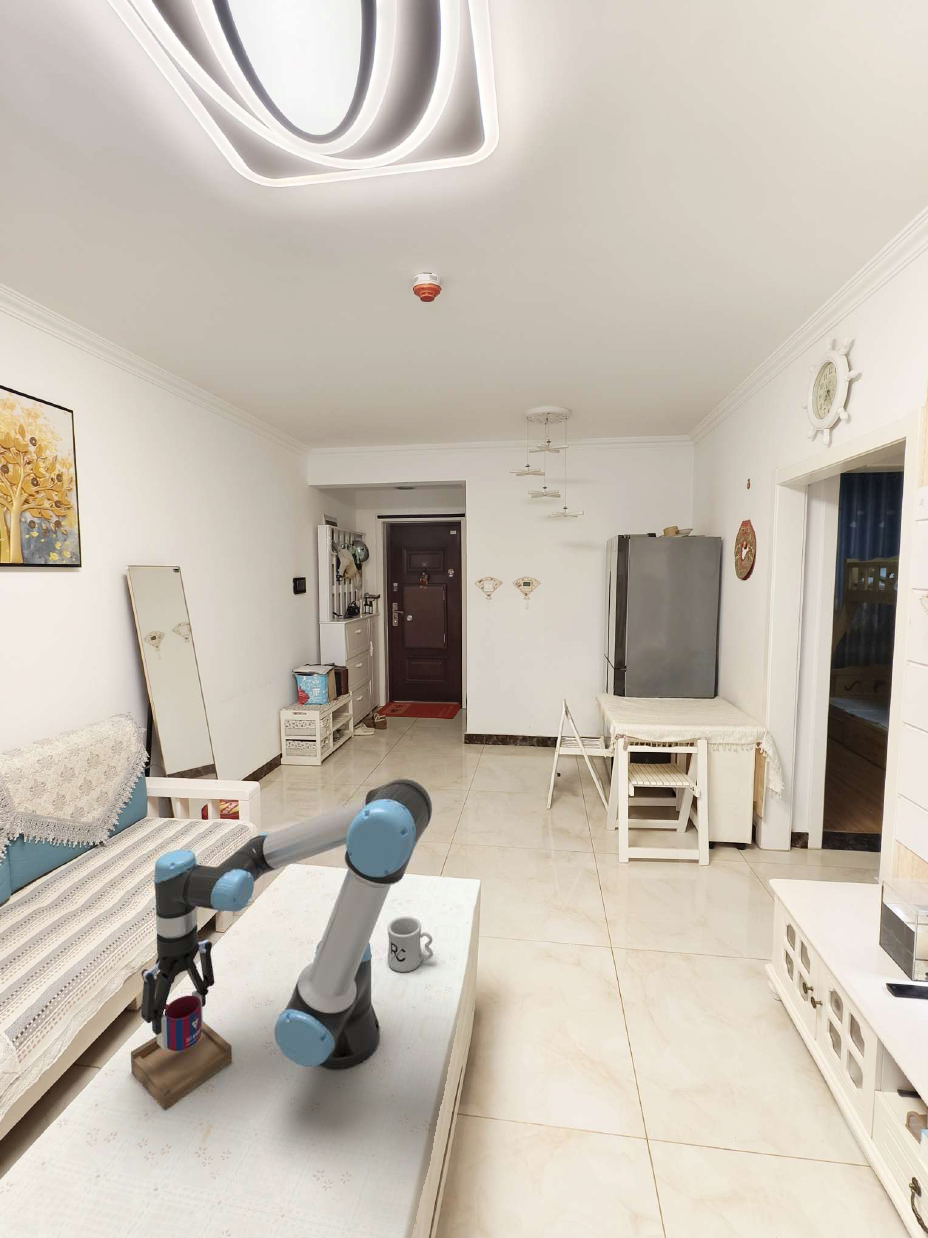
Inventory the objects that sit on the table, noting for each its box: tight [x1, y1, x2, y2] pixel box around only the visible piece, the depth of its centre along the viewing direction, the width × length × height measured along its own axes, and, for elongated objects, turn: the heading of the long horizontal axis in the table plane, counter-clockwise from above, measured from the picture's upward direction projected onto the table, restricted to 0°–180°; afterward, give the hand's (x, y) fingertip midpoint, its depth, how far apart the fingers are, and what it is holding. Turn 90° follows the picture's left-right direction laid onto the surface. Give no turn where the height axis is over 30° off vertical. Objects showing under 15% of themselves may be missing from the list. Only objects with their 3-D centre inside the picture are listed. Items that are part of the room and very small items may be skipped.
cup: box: [164, 995, 201, 1051], centre depth 120 cm, size 7×10×7 cm
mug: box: [386, 916, 434, 973], centre depth 154 cm, size 12×9×10 cm
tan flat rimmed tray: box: [130, 1021, 233, 1111], centre depth 121 cm, size 14×14×4 cm
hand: (180, 1033), depth 121 cm, fingers closed on cup, 7 cm apart
